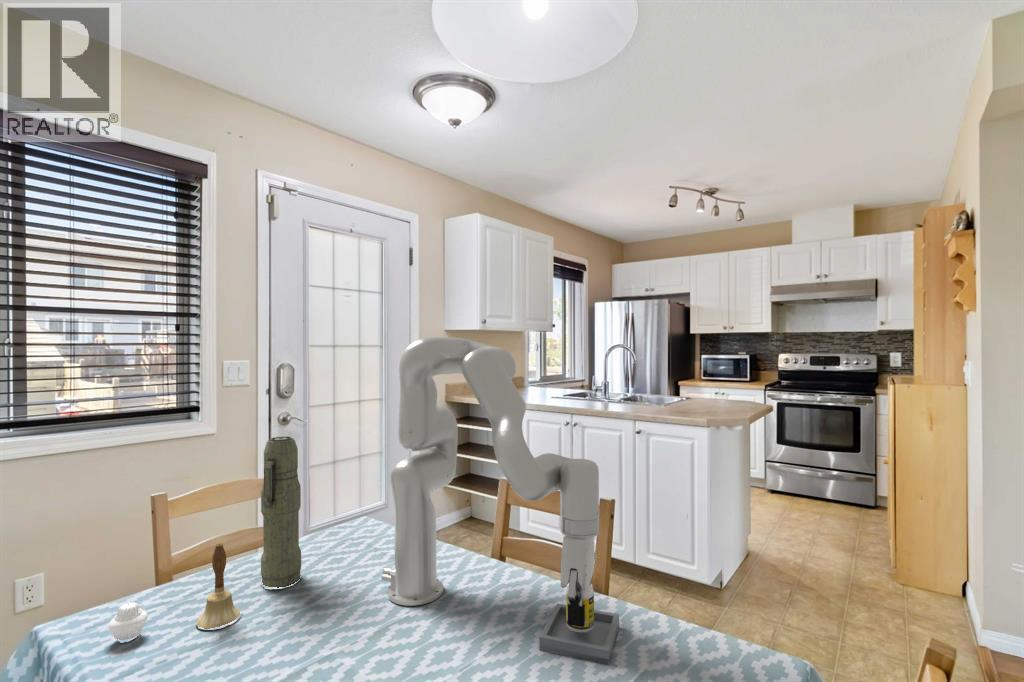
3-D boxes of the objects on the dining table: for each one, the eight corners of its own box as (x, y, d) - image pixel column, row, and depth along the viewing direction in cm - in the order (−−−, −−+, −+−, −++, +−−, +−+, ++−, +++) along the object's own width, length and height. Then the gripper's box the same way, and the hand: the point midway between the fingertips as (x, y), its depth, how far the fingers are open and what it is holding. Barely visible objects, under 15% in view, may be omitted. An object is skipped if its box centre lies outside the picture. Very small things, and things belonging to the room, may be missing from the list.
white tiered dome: (114, 634, 101) (114, 599, 101) (151, 627, 104) (151, 593, 104) (103, 651, 96) (103, 614, 96) (142, 643, 98) (142, 607, 98)
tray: (539, 650, 95) (539, 636, 95) (557, 615, 107) (557, 603, 107) (608, 664, 91) (608, 650, 91) (619, 626, 103) (619, 614, 103)
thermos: (309, 570, 129) (308, 433, 130) (289, 593, 118) (288, 442, 118) (274, 570, 129) (274, 434, 130) (251, 593, 118) (250, 443, 118)
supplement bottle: (593, 635, 96) (593, 583, 96) (564, 632, 97) (564, 580, 97) (594, 619, 101) (594, 570, 101) (567, 617, 102) (567, 568, 102)
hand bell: (250, 615, 108) (250, 540, 108) (213, 635, 101) (213, 555, 101) (224, 606, 112) (224, 534, 112) (186, 626, 104) (186, 548, 104)
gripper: (571, 508, 108) (571, 593, 108) (549, 537, 92) (549, 636, 92) (606, 512, 106) (606, 599, 106) (589, 542, 90) (590, 645, 90)
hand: (579, 615), depth 99 cm, fingers closed on supplement bottle, 5 cm apart
